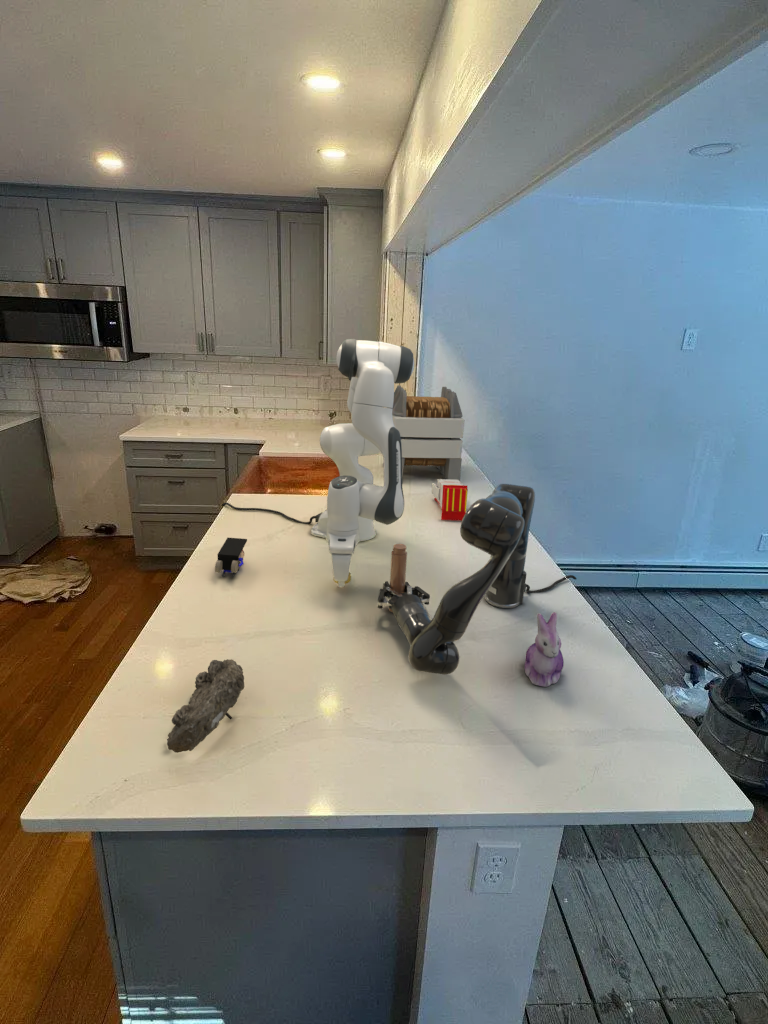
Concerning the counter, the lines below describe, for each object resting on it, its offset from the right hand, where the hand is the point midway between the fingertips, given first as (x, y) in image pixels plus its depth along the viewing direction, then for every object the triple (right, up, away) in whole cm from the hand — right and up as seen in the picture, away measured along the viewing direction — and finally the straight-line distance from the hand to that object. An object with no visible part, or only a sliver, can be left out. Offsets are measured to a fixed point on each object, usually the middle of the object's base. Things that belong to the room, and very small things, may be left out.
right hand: (394, 583), depth 150 cm
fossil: (-36, -20, -42) cm, 59 cm away
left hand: (-15, 0, +9) cm, 17 cm away
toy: (+23, +20, +77) cm, 83 cm away
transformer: (+14, +38, +125) cm, 131 cm away
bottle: (0, -7, 0) cm, 7 cm away
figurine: (+32, -17, -25) cm, 44 cm away
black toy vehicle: (-48, +2, +17) cm, 51 cm away
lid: (-15, +1, +8) cm, 17 cm away
